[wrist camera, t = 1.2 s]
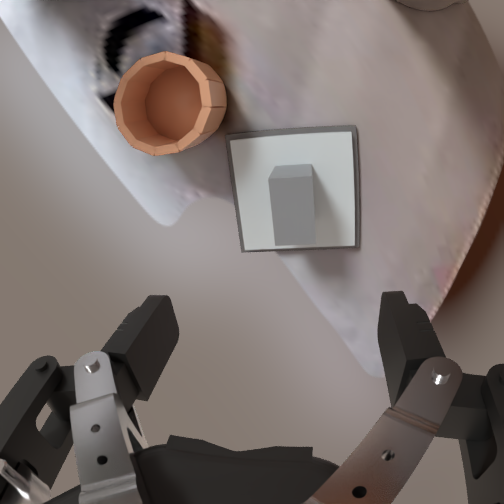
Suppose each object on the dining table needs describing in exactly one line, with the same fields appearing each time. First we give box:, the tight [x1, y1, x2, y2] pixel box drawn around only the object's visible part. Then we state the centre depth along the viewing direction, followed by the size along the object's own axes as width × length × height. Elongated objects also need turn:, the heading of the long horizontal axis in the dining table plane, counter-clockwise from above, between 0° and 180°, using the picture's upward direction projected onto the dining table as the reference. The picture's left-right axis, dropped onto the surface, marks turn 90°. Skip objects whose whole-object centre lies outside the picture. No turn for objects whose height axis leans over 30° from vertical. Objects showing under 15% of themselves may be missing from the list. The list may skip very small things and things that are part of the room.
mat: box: [225, 125, 359, 252], centre depth 28 cm, size 11×11×1 cm
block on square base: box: [230, 132, 355, 250], centre depth 25 cm, size 10×10×6 cm
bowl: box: [113, 51, 227, 156], centre depth 24 cm, size 8×8×5 cm
